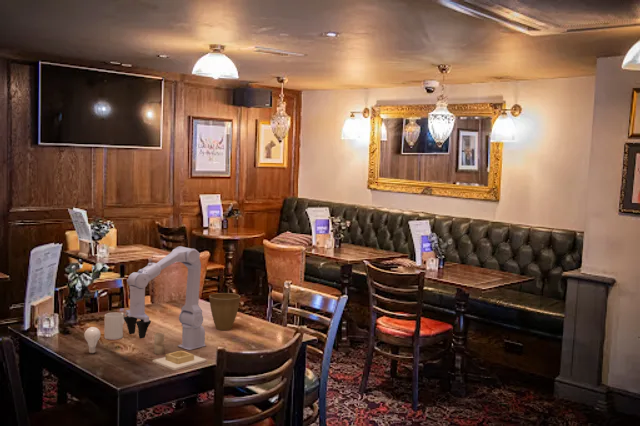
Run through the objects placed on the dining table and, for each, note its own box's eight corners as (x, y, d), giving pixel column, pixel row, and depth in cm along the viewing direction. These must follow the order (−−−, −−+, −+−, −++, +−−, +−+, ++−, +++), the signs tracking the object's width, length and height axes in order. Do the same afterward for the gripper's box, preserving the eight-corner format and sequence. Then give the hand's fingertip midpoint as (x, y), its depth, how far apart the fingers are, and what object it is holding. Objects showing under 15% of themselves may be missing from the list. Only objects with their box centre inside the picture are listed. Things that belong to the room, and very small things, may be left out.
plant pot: (242, 331, 310) (243, 298, 309) (212, 333, 305) (212, 299, 304) (235, 323, 324) (236, 291, 323) (205, 325, 319) (206, 293, 317)
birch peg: (160, 350, 275) (160, 332, 274) (165, 353, 272) (166, 334, 272) (152, 352, 272) (152, 334, 271) (158, 355, 269) (158, 336, 269)
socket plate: (184, 353, 273) (184, 346, 272) (206, 361, 264) (206, 354, 263) (152, 362, 260) (152, 354, 260) (174, 370, 251) (174, 362, 251)
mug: (116, 340, 287) (116, 317, 286) (100, 338, 289) (101, 315, 288) (131, 333, 299) (131, 311, 298) (116, 331, 301) (116, 309, 300)
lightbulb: (81, 352, 268) (81, 326, 267) (96, 350, 273) (96, 324, 272) (88, 356, 264) (88, 330, 263) (103, 353, 268) (103, 327, 267)
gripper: (118, 300, 261) (118, 333, 263) (138, 307, 252) (137, 341, 253) (134, 298, 267) (134, 330, 268) (154, 304, 257) (153, 338, 258)
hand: (136, 335), depth 261 cm, fingers open, 7 cm apart
